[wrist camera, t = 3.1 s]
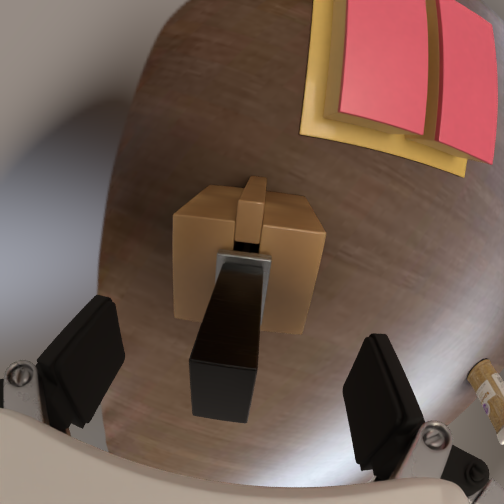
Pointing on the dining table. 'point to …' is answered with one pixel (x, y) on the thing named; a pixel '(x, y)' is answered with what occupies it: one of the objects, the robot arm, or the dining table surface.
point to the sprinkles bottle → (489, 394)
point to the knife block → (269, 243)
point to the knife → (230, 337)
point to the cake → (403, 80)
